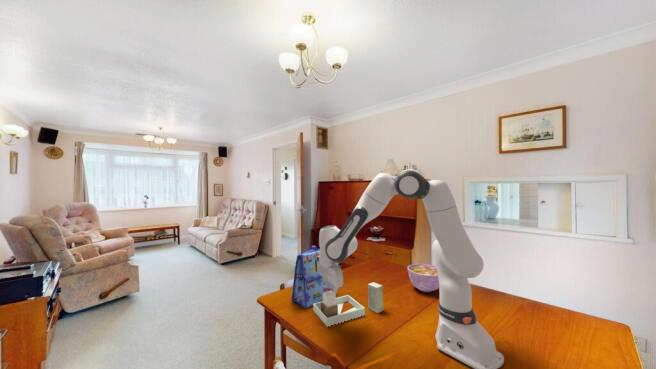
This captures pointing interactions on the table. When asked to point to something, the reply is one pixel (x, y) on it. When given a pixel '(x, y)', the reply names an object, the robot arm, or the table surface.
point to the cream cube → (329, 299)
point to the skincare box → (375, 297)
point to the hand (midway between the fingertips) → (330, 289)
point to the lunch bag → (308, 280)
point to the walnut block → (329, 310)
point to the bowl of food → (424, 277)
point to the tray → (347, 315)
